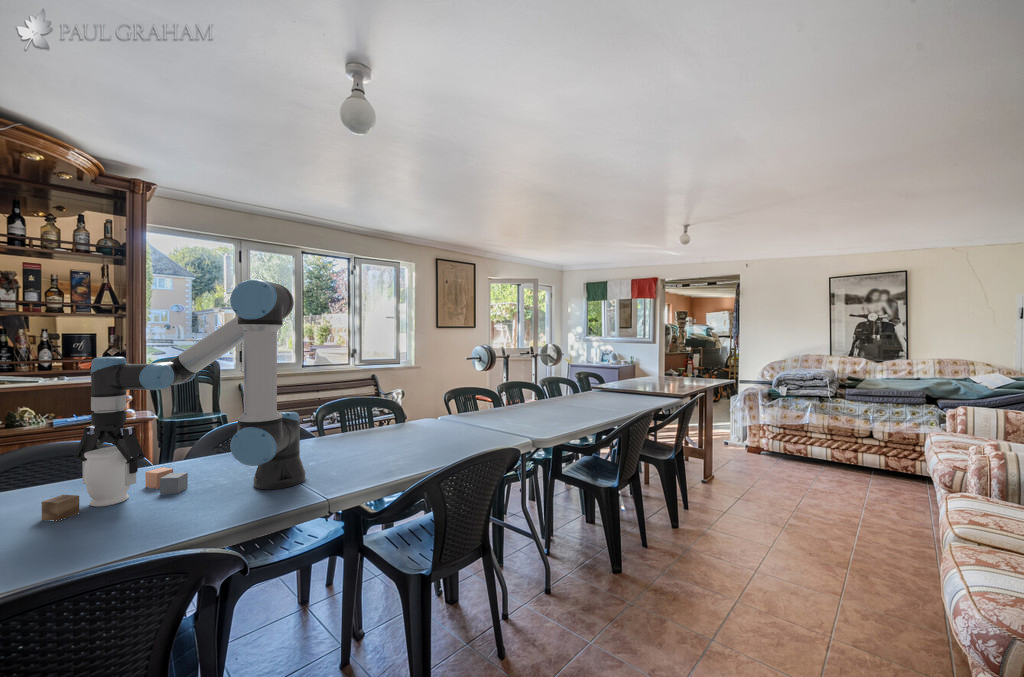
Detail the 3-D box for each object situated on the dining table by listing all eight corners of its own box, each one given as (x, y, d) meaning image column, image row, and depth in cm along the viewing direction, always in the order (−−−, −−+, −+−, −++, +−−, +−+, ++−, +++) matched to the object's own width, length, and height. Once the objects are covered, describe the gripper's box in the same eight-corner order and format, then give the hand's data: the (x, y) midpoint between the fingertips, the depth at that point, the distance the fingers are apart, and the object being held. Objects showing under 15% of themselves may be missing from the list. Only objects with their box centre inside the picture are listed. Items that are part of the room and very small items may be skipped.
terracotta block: (173, 484, 144) (173, 468, 144) (157, 489, 139) (156, 473, 139) (162, 482, 145) (161, 467, 145) (145, 487, 140) (145, 471, 140)
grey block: (187, 488, 140) (187, 472, 140) (178, 494, 135) (178, 477, 135) (170, 489, 139) (170, 473, 139) (160, 494, 134) (160, 478, 134)
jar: (103, 510, 122) (103, 456, 122) (74, 507, 124) (74, 453, 124) (142, 496, 133) (142, 446, 132) (115, 493, 135) (114, 444, 135)
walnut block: (79, 513, 120) (79, 495, 120) (58, 521, 115) (58, 502, 115) (63, 512, 121) (63, 494, 120) (41, 520, 116) (41, 501, 116)
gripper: (159, 409, 130) (160, 481, 131) (84, 407, 133) (85, 477, 134) (135, 413, 123) (135, 489, 123) (56, 411, 126) (57, 485, 126)
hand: (109, 483), depth 128 cm, fingers open, 13 cm apart
